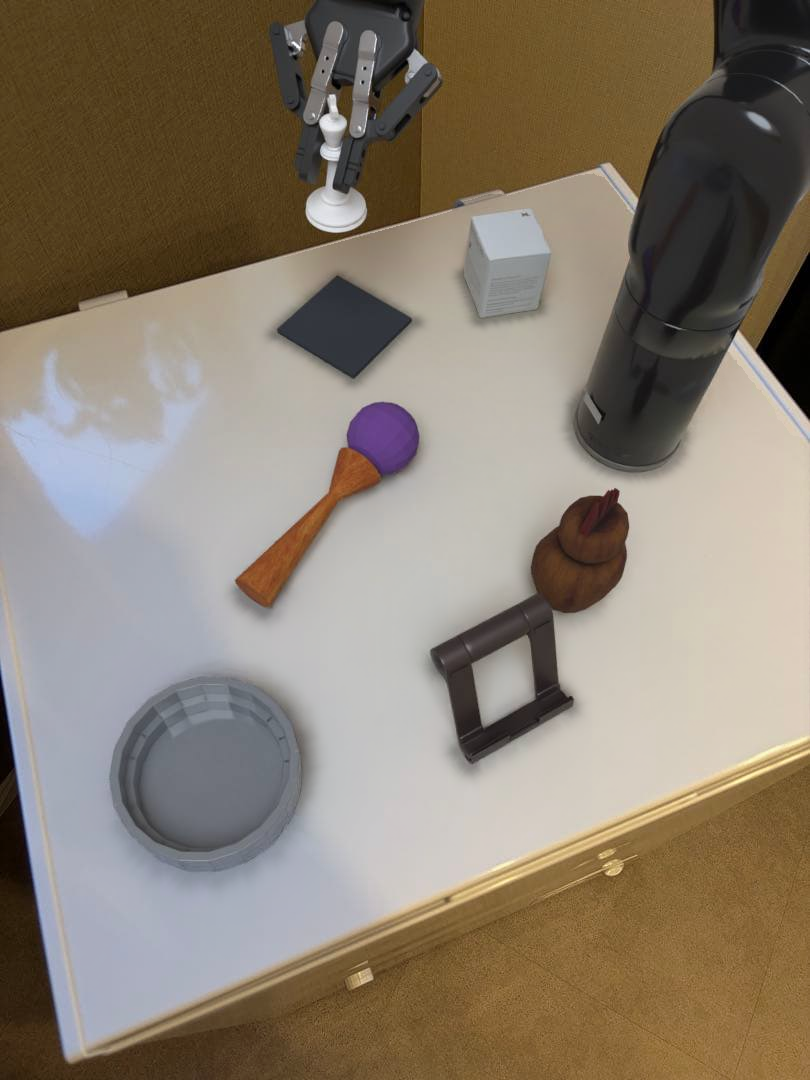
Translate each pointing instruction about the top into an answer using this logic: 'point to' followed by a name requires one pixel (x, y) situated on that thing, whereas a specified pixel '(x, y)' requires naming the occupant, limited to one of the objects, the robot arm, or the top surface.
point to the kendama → (338, 491)
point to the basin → (206, 773)
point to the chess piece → (326, 203)
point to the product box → (506, 262)
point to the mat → (344, 326)
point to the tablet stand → (484, 640)
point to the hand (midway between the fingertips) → (323, 185)
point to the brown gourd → (582, 554)
